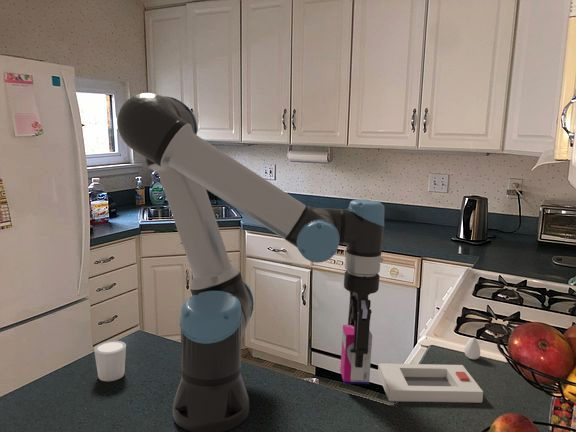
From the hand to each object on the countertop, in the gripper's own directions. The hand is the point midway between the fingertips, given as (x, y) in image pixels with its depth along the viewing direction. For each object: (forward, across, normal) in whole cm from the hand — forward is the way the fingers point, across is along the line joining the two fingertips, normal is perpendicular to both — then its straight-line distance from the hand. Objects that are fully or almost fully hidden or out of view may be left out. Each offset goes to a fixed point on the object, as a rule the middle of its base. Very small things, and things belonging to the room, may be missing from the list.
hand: (354, 371), depth 107 cm
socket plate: (+3, 0, -17) cm, 17 cm away
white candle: (+5, +3, +55) cm, 56 cm away
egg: (+3, +15, -33) cm, 36 cm away
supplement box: (+2, 0, 0) cm, 2 cm away
